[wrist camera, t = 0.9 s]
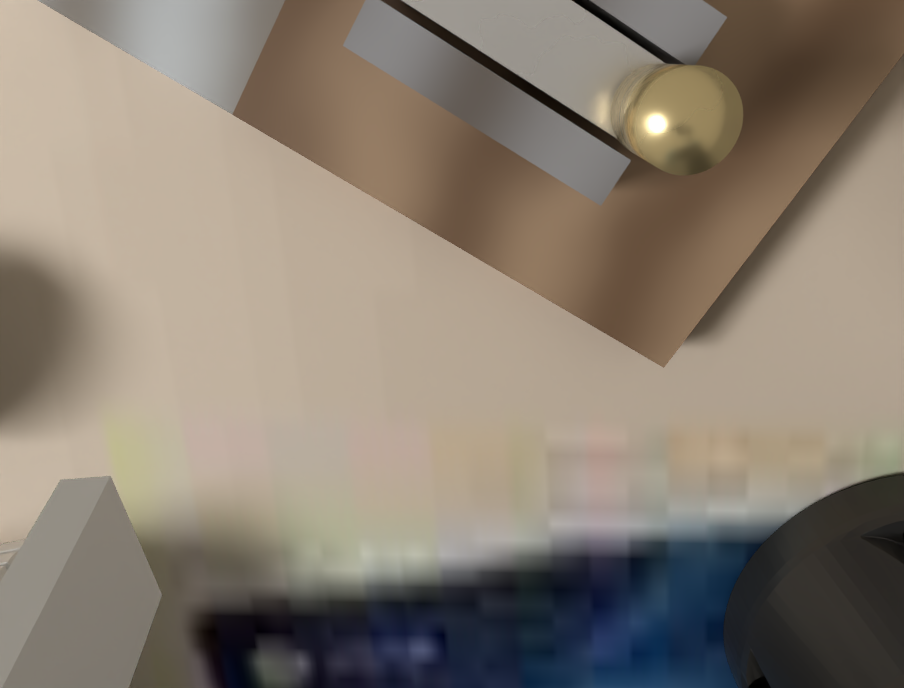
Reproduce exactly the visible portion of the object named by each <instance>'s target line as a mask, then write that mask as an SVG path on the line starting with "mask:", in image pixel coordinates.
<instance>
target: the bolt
mask: <svg viewBox="0 0 904 688" xmlns="http://www.w3.org/2000/svg"><path fill="white" fill-rule="evenodd" d="M400 1H402V2H403V3H405V4H407V5H408V6H410V7H411V8H413V9H414V10H416V11H418V12H419V13H421V14H422V15H424V16H425V17H427V18H428V19H430V20H432V21H433V22H435V23H436V24H438V25H439V26H441V27H442V28H444V29H446V30H447V31H449V32H450V33H452V34H453V35H455V36H456V37H458V38H460V39H461V40H463V41H464V42H466V43H467V44H469V45H470V46H472V47H474V48H475V49H477V50H478V51H480V52H481V53H483V54H485V55H486V56H488V57H489V58H491V59H492V60H494V61H495V62H497V63H499V64H500V65H502V66H503V67H505V68H506V69H508V70H509V71H511V72H513V73H514V74H516V75H517V76H519V77H520V78H522V79H523V80H525V81H527V82H528V83H530V84H531V85H533V86H534V87H536V88H537V89H539V90H541V91H542V92H544V93H545V94H547V95H548V96H550V97H552V98H553V99H555V100H556V101H558V102H559V103H561V104H562V105H564V106H566V107H567V108H569V109H570V110H572V111H573V112H575V113H576V114H578V115H580V116H581V117H583V118H584V119H586V120H587V121H589V122H590V123H592V124H594V125H595V126H597V127H598V128H600V129H601V130H603V131H604V132H606V133H608V134H609V135H611V136H612V137H614V138H615V139H617V140H618V141H619V142H620V143H621V144H622V145H623V146H624V147H625V148H626V149H628V150H629V151H631V152H632V153H634V154H635V155H637V156H639V157H640V158H642V159H644V160H645V161H647V162H649V163H650V164H652V165H654V166H655V167H657V168H659V169H660V170H662V171H664V172H667V173H670V174H674V175H693V174H698V173H701V172H704V171H706V170H708V169H710V168H712V167H714V166H715V165H717V164H718V163H719V162H721V161H722V160H723V159H724V158H725V157H726V156H727V155H728V154H729V152H730V151H731V150H732V148H733V147H734V145H735V144H736V141H737V139H738V137H739V135H740V132H741V128H742V123H743V105H742V100H741V97H740V94H739V92H738V90H737V88H736V87H735V85H734V84H733V83H732V81H731V80H730V79H729V78H728V77H727V76H725V75H724V74H723V73H721V72H719V71H718V70H715V69H713V68H710V67H706V66H699V65H681V64H666V63H664V62H663V61H661V60H660V59H658V58H657V57H655V56H654V55H652V54H651V53H649V52H648V51H646V50H645V49H643V48H642V47H640V46H639V45H637V44H636V43H634V42H633V41H631V40H630V39H628V38H627V37H625V36H624V35H622V34H621V33H619V32H618V31H617V30H615V29H614V28H612V27H611V26H609V25H608V24H606V23H605V22H603V21H602V20H600V19H599V18H597V17H596V16H594V15H593V14H591V13H590V12H588V11H587V10H585V9H584V8H582V7H581V6H579V5H578V4H576V3H575V2H573V1H572V0H400Z"/></svg>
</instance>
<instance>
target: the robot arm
mask: <svg viewBox="0 0 904 688" xmlns="http://www.w3.org/2000/svg"><path fill="white" fill-rule="evenodd" d="M161 597H162V593H161V591H160V589H159V586H158V584H157V582H156V579H155V577H154V575H153V572H152V570H151V568H150V566H149V563H148V561H147V559H146V556H145V554H144V552H143V549H142V547H141V545H140V543H139V540H138V538H137V536H136V533H135V531H134V529H133V526H132V524H131V522H130V520H129V517H128V515H127V513H126V510H125V508H124V506H123V503H122V501H121V499H120V497H119V494H118V492H117V490H116V487H115V485H114V483H113V480H112V478H111V476H104V477H90V478H77V479H64V480H60V482H59V483H58V485H57V487H56V488H55V490H54V492H53V493H52V495H51V497H50V499H49V500H48V502H47V504H46V505H45V507H44V509H43V510H42V512H41V514H40V515H39V517H38V519H37V521H36V522H35V524H34V526H33V527H32V529H31V531H30V532H29V534H28V536H27V538H26V539H25V541H24V543H23V544H22V546H21V548H20V549H19V551H18V553H17V554H16V556H15V558H14V560H13V561H12V563H11V565H10V566H9V568H8V570H7V571H6V573H5V575H4V577H3V578H2V580H1V582H0V688H129V686H130V683H131V681H132V678H133V675H134V672H135V669H136V667H137V664H138V661H139V658H140V655H141V653H142V650H143V647H144V644H145V642H146V639H147V636H148V633H149V630H150V628H151V625H152V622H153V619H154V616H155V614H156V611H157V608H158V605H159V602H160V600H161ZM723 635H724V647H725V653H726V657H727V661H728V664H729V667H730V669H731V672H732V674H733V676H734V679H735V681H736V683H737V686H738V688H904V475H900V476H892V477H887V478H882V479H878V480H874V481H870V482H866V483H863V484H860V485H856V486H853V487H850V488H848V489H845V490H843V491H840V492H838V493H835V494H833V495H831V496H829V497H827V498H825V499H823V500H821V501H819V502H817V503H815V504H813V505H812V506H810V507H808V508H807V509H805V510H803V511H802V512H800V513H799V514H797V515H796V516H794V517H793V518H792V519H790V520H789V521H788V522H786V523H785V524H784V525H783V526H781V527H780V528H779V529H778V530H777V531H776V532H774V533H773V534H772V535H771V536H770V537H769V538H768V539H767V540H766V541H765V542H764V543H763V544H762V545H761V546H760V548H759V549H758V550H757V551H756V552H755V554H754V555H753V556H752V557H751V559H750V560H749V561H748V563H747V564H746V566H745V567H744V569H743V571H742V572H741V574H740V576H739V578H738V579H737V581H736V583H735V585H734V588H733V590H732V593H731V595H730V598H729V601H728V604H727V609H726V613H725V620H724V633H723Z"/></svg>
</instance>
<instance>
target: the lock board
mask: <svg viewBox="0 0 904 688" xmlns="http://www.w3.org/2000/svg"><path fill="white" fill-rule="evenodd" d="M38 1H40V2H41V3H43V4H45V5H47V6H48V7H50V8H52V9H53V10H55V11H57V12H58V13H60V14H62V15H64V16H65V17H67V18H69V19H70V20H72V21H74V22H76V23H77V24H79V25H81V26H82V27H84V28H86V29H87V30H89V31H91V32H93V33H94V34H96V35H98V36H99V37H101V38H103V39H104V40H106V41H108V42H110V43H111V44H113V45H115V46H116V47H118V48H120V49H122V50H123V51H125V52H127V53H128V54H130V55H132V56H133V57H135V58H137V59H139V60H140V61H142V62H144V63H145V64H147V65H149V66H151V67H152V68H154V69H156V70H157V71H159V72H161V73H162V74H164V75H166V76H168V77H169V78H171V79H173V80H174V81H176V82H178V83H180V84H181V85H183V86H185V87H186V88H188V89H190V90H191V91H193V92H195V93H197V94H198V95H200V96H202V97H203V98H205V99H207V100H208V101H210V102H212V103H214V104H215V105H217V106H219V107H220V108H222V109H224V110H226V111H227V112H229V113H231V114H232V115H234V116H236V117H237V118H239V119H241V120H243V121H244V122H246V123H248V124H249V125H251V126H253V127H255V128H256V129H258V130H260V131H261V132H263V133H265V134H266V135H268V136H270V137H272V138H273V139H275V140H277V141H278V142H280V143H282V144H283V145H285V146H287V147H289V148H290V149H292V150H294V151H295V152H297V153H299V154H301V155H302V156H304V157H306V158H307V159H309V160H311V161H312V162H314V163H316V164H318V165H319V166H321V167H323V168H324V169H326V170H328V171H330V172H331V173H333V174H335V175H336V176H338V177H340V178H341V179H343V180H345V181H347V182H348V183H350V184H352V185H353V186H355V187H357V188H358V189H360V190H362V191H364V192H365V193H367V194H369V195H370V196H372V197H374V198H376V199H377V200H379V201H381V202H382V203H384V204H386V205H387V206H389V207H391V208H393V209H394V210H396V211H398V212H399V213H401V214H403V215H405V216H406V217H408V218H410V219H411V220H413V221H415V222H416V223H418V224H420V225H422V226H423V227H425V228H427V229H428V230H430V231H432V232H433V233H435V234H437V235H439V236H440V237H442V238H444V239H445V240H447V241H449V242H451V243H452V244H454V245H456V246H457V247H459V248H461V249H462V250H464V251H466V252H468V253H469V254H471V255H473V256H474V257H476V258H478V259H480V260H481V261H483V262H485V263H486V264H488V265H490V266H491V267H493V268H495V269H497V270H498V271H500V272H502V273H503V274H505V275H507V276H508V277H510V278H512V279H514V280H515V281H517V282H519V283H520V284H522V285H524V286H526V287H527V288H529V289H531V290H532V291H534V292H536V293H537V294H539V295H541V296H543V297H544V298H546V299H548V300H549V301H551V302H553V303H555V304H556V305H558V306H560V307H561V308H563V309H565V310H566V311H568V312H570V313H572V314H573V315H575V316H577V317H578V318H580V319H582V320H583V321H585V322H587V323H589V324H590V325H592V326H594V327H595V328H597V329H599V330H601V331H602V332H604V333H606V334H607V335H609V336H611V337H612V338H614V339H616V340H618V341H619V342H621V343H623V344H624V345H626V346H628V347H630V348H631V349H633V350H635V351H636V352H638V353H640V354H641V355H643V356H645V357H647V358H648V359H650V360H652V361H653V362H655V363H657V364H658V365H660V366H662V367H665V365H666V364H667V363H668V362H669V360H670V359H671V358H672V356H673V355H674V354H675V352H676V351H677V350H678V348H679V347H680V346H681V345H682V343H683V342H684V341H685V339H686V338H687V337H688V335H689V334H690V333H691V331H692V330H693V329H694V327H695V326H696V325H697V324H698V322H699V321H700V320H701V318H702V317H703V316H704V314H705V313H706V312H707V310H708V309H709V308H710V307H711V305H712V304H713V303H714V301H715V300H716V299H717V297H718V296H719V295H720V293H721V292H722V291H723V290H724V288H725V287H726V286H727V284H728V283H729V282H730V280H731V279H732V278H733V276H734V275H735V274H736V273H737V271H738V270H739V269H740V267H741V266H742V265H743V263H744V262H745V261H746V259H747V258H748V257H749V256H750V254H751V253H752V252H753V250H754V249H755V248H756V246H757V245H758V244H759V242H760V241H761V240H762V239H763V237H764V236H765V235H766V233H767V232H768V231H769V229H770V228H771V227H772V225H773V224H774V223H775V222H776V220H777V219H778V218H779V216H780V215H781V214H782V212H783V211H784V210H785V208H786V207H787V206H788V204H789V203H790V202H791V201H792V199H793V198H794V197H795V195H796V194H797V193H798V191H799V190H800V189H801V187H802V186H803V185H804V184H805V182H806V181H807V180H808V178H809V177H810V176H811V174H812V173H813V172H814V170H815V169H816V168H817V167H818V165H819V164H820V163H821V161H822V160H823V159H824V157H825V156H826V155H827V153H828V152H829V151H830V150H831V148H832V147H833V146H834V144H835V143H836V142H837V140H838V139H839V138H840V136H841V135H842V134H843V133H844V131H845V130H846V129H847V127H848V126H849V125H850V123H851V122H852V121H853V119H854V118H855V117H856V116H857V114H858V113H859V112H860V110H861V109H862V108H863V106H864V105H865V104H866V102H867V101H868V100H869V99H870V97H871V96H872V95H873V93H874V92H875V91H876V89H877V88H878V87H879V85H880V84H881V83H882V81H883V80H884V79H885V78H886V76H887V75H888V74H889V72H890V71H891V70H892V68H893V67H894V66H895V64H896V63H897V62H898V61H899V59H900V58H901V57H902V55H903V54H904V0H572V1H573V2H575V3H576V4H578V5H579V6H581V7H582V8H584V9H585V10H587V11H588V12H590V13H591V14H593V15H594V16H596V17H597V18H599V19H600V20H602V21H603V22H605V23H606V24H608V25H609V26H611V27H612V28H614V29H615V30H617V31H618V32H619V33H621V34H622V35H624V36H625V37H627V38H628V39H630V40H631V41H633V42H634V43H636V44H637V45H639V46H640V47H642V48H643V49H645V50H646V51H648V52H649V53H651V54H652V55H654V56H655V57H657V58H658V59H660V60H661V61H663V62H664V63H666V64H681V65H699V66H706V67H710V68H713V69H715V70H718V71H719V72H721V73H723V74H724V75H725V76H727V77H728V78H729V79H730V80H731V81H732V83H733V84H734V85H735V87H736V88H737V90H738V92H739V94H740V97H741V100H742V105H743V123H742V128H741V132H740V135H739V137H738V139H737V141H736V144H735V145H734V147H733V148H732V150H731V151H730V152H729V154H728V155H727V156H726V157H725V158H724V159H723V160H722V161H721V162H719V163H718V164H717V165H715V166H714V167H712V168H710V169H708V170H706V171H704V172H701V173H698V174H693V175H674V174H670V173H667V172H664V171H662V170H660V169H659V168H657V167H655V166H654V165H652V164H650V163H649V162H647V161H645V160H644V159H642V158H640V157H639V156H637V155H635V154H634V153H632V152H631V151H629V150H628V149H626V148H625V147H624V146H623V145H622V144H621V143H620V142H619V141H618V140H617V139H615V138H614V137H612V136H611V135H609V134H608V133H606V132H604V131H603V130H601V129H600V128H598V127H597V126H595V125H594V124H592V123H590V122H589V121H587V120H586V119H584V118H583V117H581V116H580V115H578V114H576V113H575V112H573V111H572V110H570V109H569V108H567V107H566V106H564V105H562V104H561V103H559V102H558V101H556V100H555V99H553V98H552V97H550V96H548V95H547V94H545V93H544V92H542V91H541V90H539V89H537V88H536V87H534V86H533V85H531V84H530V83H528V82H527V81H525V80H523V79H522V78H520V77H519V76H517V75H516V74H514V73H513V72H511V71H509V70H508V69H506V68H505V67H503V66H502V65H500V64H499V63H497V62H495V61H494V60H492V59H491V58H489V57H488V56H486V55H485V54H483V53H481V52H480V51H478V50H477V49H475V48H474V47H472V46H470V45H469V44H467V43H466V42H464V41H463V40H461V39H460V38H458V37H456V36H455V35H453V34H452V33H450V32H449V31H447V30H446V29H444V28H442V27H441V26H439V25H438V24H436V23H435V22H433V21H432V20H430V19H428V18H427V17H425V16H424V15H422V14H421V13H419V12H418V11H416V10H414V9H413V8H411V7H410V6H408V5H407V4H405V3H403V2H402V1H400V0H38Z"/></svg>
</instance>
